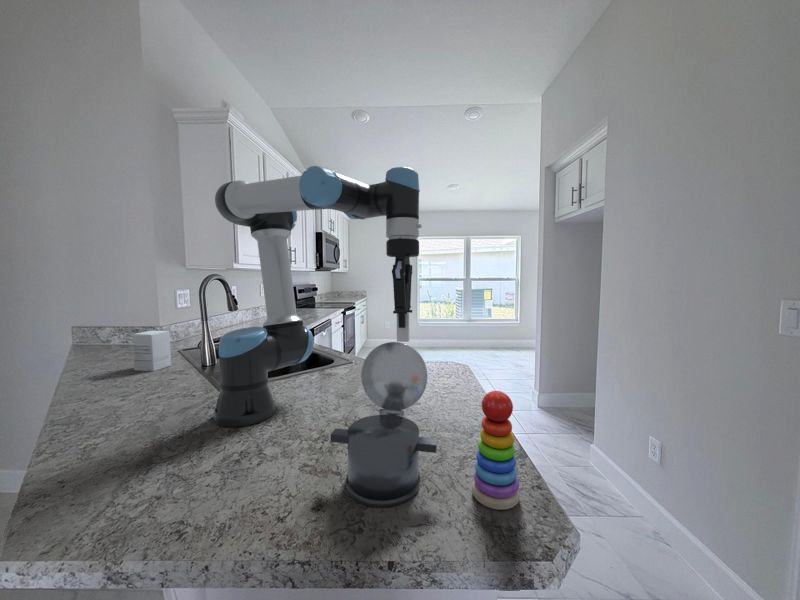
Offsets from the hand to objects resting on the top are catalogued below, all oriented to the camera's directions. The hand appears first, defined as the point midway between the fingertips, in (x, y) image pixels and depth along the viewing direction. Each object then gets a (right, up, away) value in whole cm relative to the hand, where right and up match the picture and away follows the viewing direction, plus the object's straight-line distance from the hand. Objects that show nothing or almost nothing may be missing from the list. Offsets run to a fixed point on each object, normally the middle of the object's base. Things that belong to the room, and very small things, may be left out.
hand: (403, 340), depth 76 cm
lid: (-2, -7, -9) cm, 12 cm away
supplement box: (-103, -19, +58) cm, 119 cm away
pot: (-4, -24, -16) cm, 29 cm away
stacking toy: (+16, -25, -20) cm, 35 cm away
